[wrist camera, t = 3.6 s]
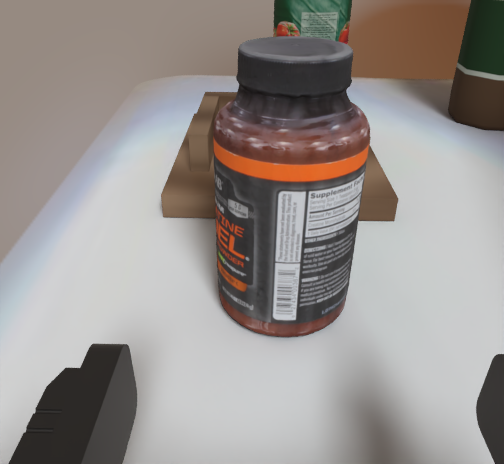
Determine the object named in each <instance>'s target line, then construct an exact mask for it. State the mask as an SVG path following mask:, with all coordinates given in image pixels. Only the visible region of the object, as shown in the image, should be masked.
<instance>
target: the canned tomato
mask: <svg viewBox="0 0 504 464" xmlns="http://www.w3.org/2000/svg"><path fill="white" fill-rule="evenodd" d="M351 7H352V0H275V1H274V36H273V37H279V36H303V37H315V38H323V39H329V40H334V41H336V42H342V43H345V44H347V43H348V33H349V24H350V16H351V15H350V14H351Z"/></svg>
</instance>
